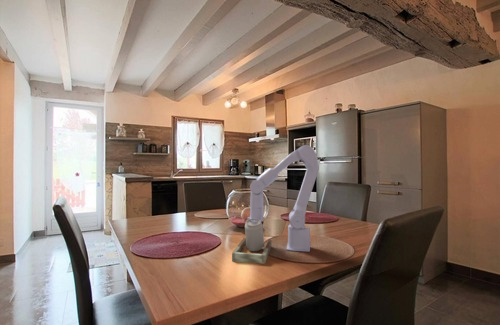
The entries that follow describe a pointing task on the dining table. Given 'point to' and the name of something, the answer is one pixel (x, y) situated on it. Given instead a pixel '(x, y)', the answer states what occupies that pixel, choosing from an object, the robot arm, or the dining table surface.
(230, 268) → the dining table surface
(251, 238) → the can
